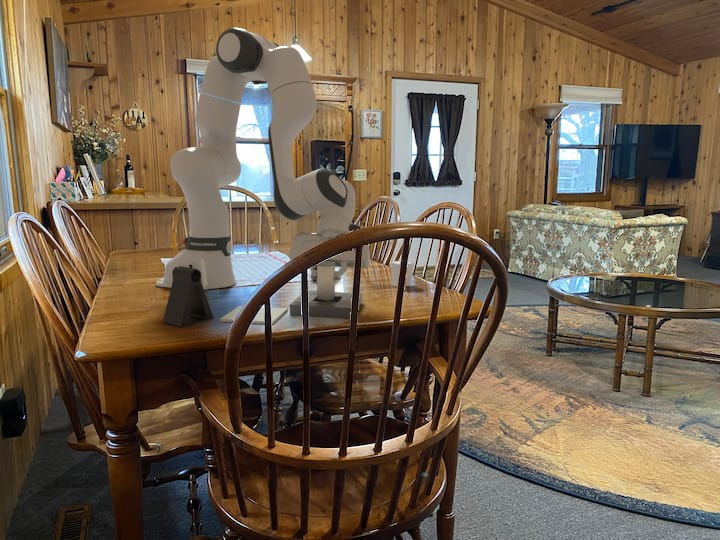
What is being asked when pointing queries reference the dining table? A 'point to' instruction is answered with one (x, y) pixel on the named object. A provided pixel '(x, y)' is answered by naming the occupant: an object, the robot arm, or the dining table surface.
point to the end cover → (326, 280)
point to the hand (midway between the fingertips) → (325, 278)
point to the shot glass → (396, 270)
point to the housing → (326, 305)
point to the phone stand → (187, 299)
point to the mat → (260, 318)
